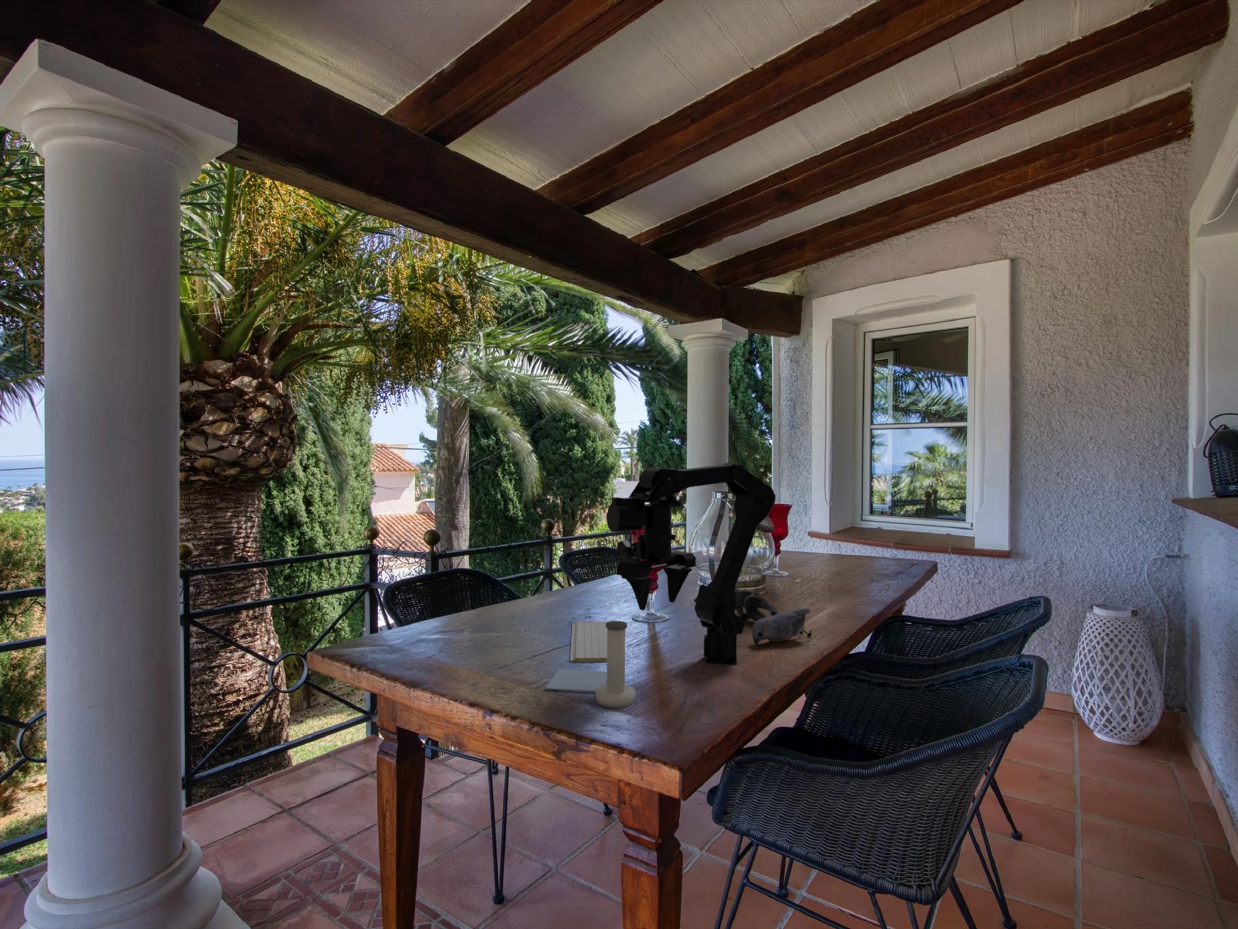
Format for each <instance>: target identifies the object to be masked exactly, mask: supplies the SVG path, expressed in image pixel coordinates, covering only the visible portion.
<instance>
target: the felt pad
mask: <svg viewBox="0 0 1238 929" xmlns="http://www.w3.org/2000/svg"><path fill="white" fill-rule="evenodd" d="M603 685H607V670H606V671H604V670H603V671H602V670H588V669H587V670H586V669H585V670H584V669H570V668H569V669H568V668H558V669H557V671H556V673H555V674H554V675H553V676H552V678H551V679H550V681H549V682H548V684H546V686H545V687H544V688H545V689H546V690H545V689H544V690H545V691H552V690H557V691H556V692H568V691H569V692H572V693H585V694H586V693H587V694H596V689H597V688H599V687H600V686H603ZM547 689H548V690H547ZM569 692H568V693H569Z"/></svg>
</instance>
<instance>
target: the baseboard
mask: <svg viewBox="0 0 1238 929" xmlns="http://www.w3.org/2000/svg"><path fill="white" fill-rule="evenodd" d="M592 618H593V616H591V615H590V616H584V619H592ZM574 619H576V618H574V617H572V620H574ZM606 619H607V618H606V617H604V620H606ZM572 620H570V621H567V623H568V624H569V625H570V624H571V638H570V653H569V654H570V656H569V662H570V661H606V662H605V663H607V628H606V623H607V622H606V621H581V620H580V621H576V622H575V623H572Z"/></svg>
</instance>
